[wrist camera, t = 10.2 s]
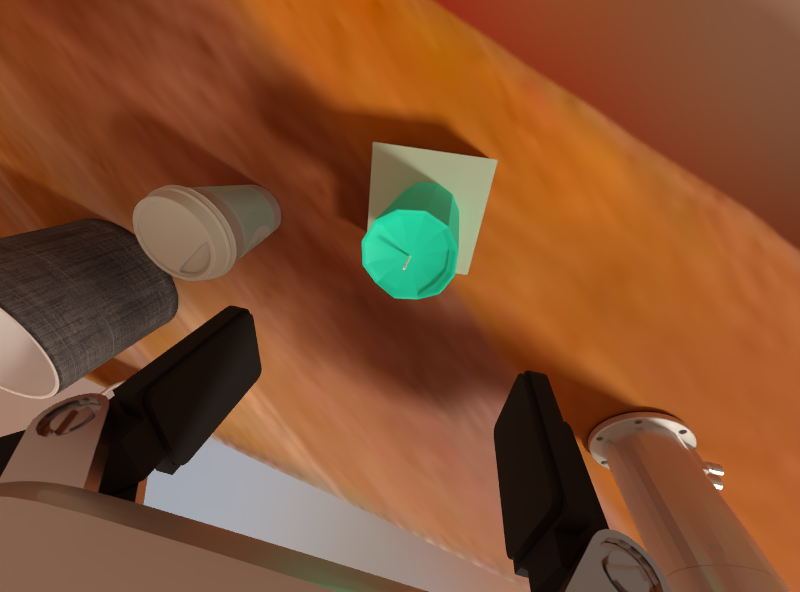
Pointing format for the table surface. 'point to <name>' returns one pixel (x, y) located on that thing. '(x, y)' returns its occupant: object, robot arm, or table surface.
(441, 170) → the pedestal
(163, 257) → the coffee cup
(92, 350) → the planter
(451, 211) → the candle
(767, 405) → the table surface
